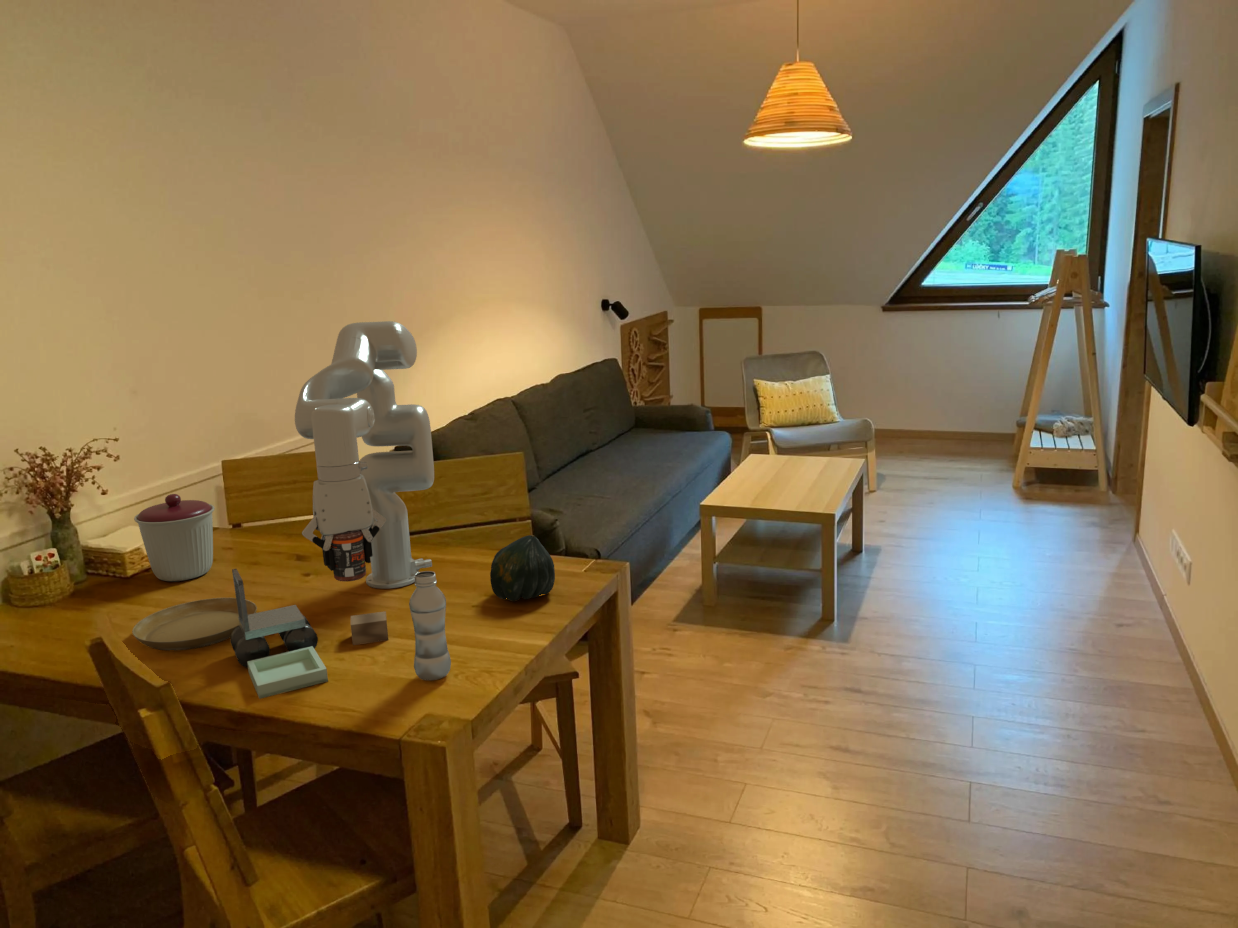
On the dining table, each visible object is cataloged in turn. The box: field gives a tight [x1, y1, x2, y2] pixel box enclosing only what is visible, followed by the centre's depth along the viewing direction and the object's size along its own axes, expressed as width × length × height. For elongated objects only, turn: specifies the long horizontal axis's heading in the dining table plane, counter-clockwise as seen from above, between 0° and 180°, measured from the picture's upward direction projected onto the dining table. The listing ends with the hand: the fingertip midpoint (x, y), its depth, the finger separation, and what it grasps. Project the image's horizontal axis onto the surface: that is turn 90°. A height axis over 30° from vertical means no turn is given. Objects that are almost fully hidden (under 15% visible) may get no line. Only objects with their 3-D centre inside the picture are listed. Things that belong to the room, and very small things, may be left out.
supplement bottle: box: [331, 530, 367, 582], centre depth 169 cm, size 6×6×11 cm
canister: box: [133, 493, 215, 582], centre depth 225 cm, size 18×18×21 cm
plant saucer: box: [132, 597, 258, 651], centre depth 191 cm, size 24×24×3 cm
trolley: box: [229, 568, 319, 669], centre depth 176 cm, size 15×9×18 cm, turn 120°
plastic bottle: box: [408, 570, 452, 681], centre depth 164 cm, size 6×7×20 cm
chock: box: [350, 610, 389, 646], centre depth 184 cm, size 7×5×4 cm
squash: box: [489, 534, 556, 602], centre depth 203 cm, size 14×15×15 cm
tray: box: [247, 646, 329, 700], centre depth 167 cm, size 12×12×2 cm
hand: (349, 563), depth 169 cm, fingers closed on supplement bottle, 6 cm apart
